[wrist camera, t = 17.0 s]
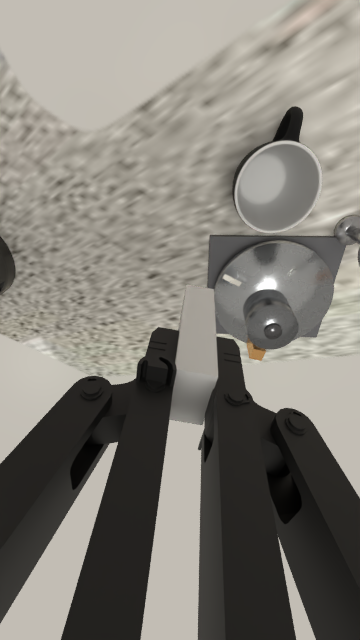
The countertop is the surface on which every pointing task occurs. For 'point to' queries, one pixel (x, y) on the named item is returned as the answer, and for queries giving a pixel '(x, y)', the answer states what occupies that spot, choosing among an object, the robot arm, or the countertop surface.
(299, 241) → the turntable base
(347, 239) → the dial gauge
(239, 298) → the turntable
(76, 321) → the countertop surface
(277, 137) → the mug
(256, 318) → the cover
